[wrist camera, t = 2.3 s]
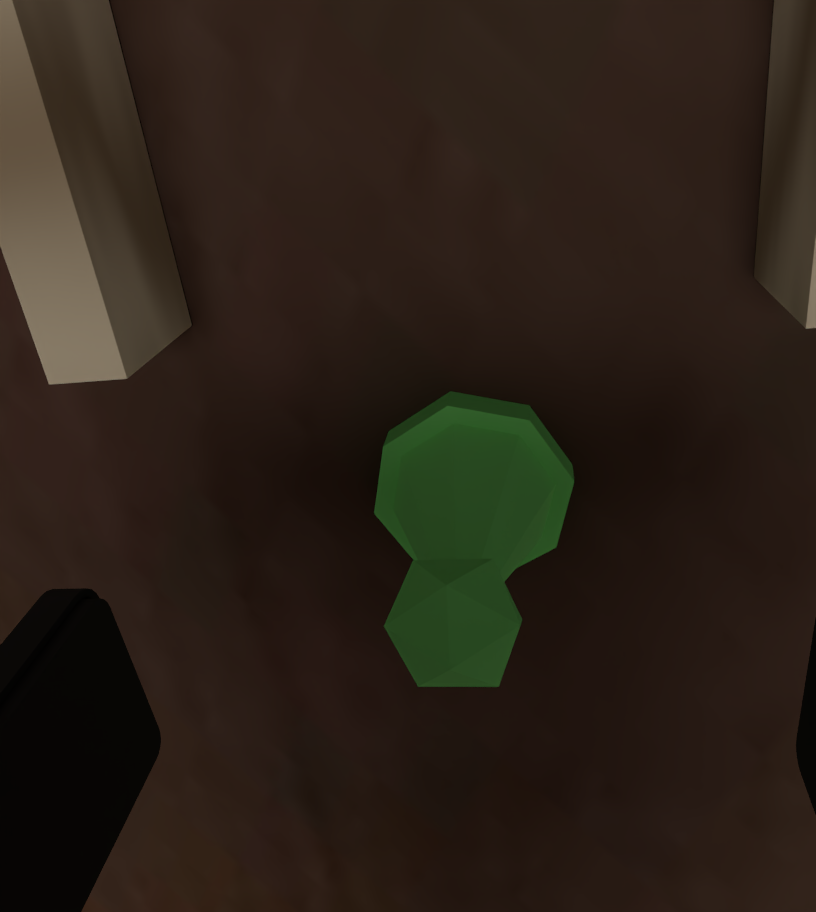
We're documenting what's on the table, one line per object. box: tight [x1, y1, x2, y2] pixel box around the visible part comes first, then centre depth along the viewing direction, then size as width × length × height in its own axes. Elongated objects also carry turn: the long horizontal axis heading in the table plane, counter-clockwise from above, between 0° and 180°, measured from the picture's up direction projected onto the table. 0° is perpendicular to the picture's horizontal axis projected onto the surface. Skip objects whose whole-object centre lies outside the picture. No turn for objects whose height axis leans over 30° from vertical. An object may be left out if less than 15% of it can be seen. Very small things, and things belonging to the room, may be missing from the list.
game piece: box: [374, 391, 574, 687], centre depth 14 cm, size 4×4×6 cm
